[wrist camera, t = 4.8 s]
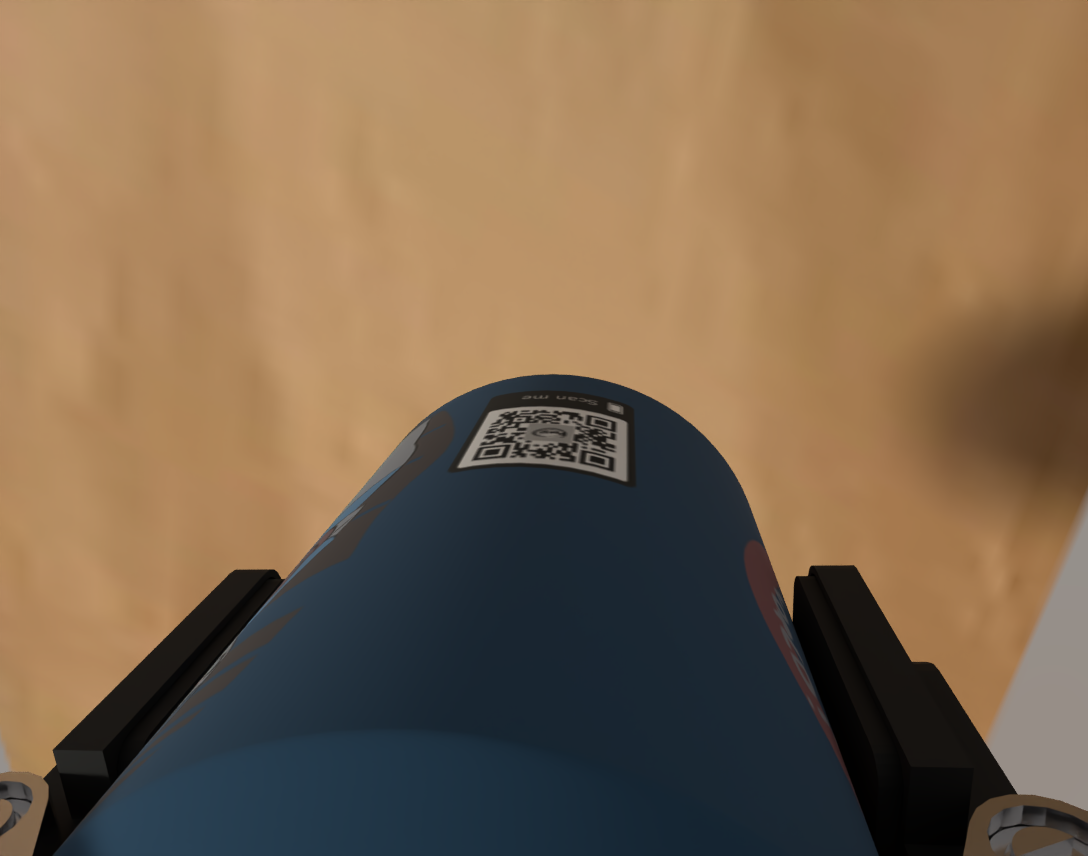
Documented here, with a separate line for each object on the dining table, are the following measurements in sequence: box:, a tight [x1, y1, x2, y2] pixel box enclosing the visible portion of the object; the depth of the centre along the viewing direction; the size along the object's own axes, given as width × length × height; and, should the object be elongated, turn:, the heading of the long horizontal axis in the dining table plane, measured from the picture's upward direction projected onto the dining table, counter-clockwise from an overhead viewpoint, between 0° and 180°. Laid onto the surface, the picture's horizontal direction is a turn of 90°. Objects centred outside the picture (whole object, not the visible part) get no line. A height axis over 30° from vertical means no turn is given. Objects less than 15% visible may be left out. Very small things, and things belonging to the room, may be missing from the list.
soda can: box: [53, 374, 879, 856], centre depth 10 cm, size 7×7×12 cm
